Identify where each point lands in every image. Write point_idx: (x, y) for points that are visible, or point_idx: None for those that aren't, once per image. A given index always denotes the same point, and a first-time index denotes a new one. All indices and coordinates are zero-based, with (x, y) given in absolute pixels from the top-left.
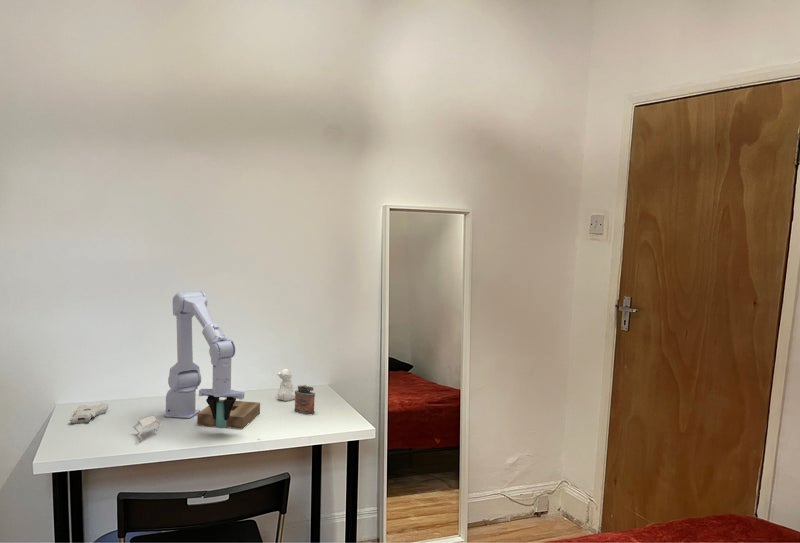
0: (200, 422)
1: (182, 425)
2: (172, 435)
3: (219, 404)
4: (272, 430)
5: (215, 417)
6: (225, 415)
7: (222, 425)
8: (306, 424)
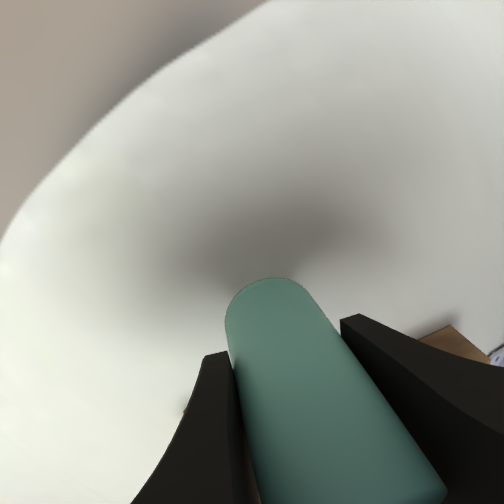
0: (446, 340)
1: (497, 284)
2: (492, 143)
3: (369, 496)
4: (45, 434)
5: (349, 335)
6: (212, 388)
7: (239, 308)
8: (21, 489)
